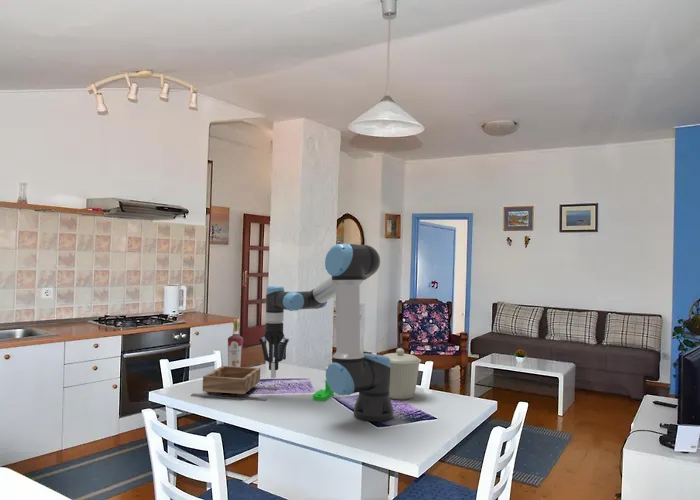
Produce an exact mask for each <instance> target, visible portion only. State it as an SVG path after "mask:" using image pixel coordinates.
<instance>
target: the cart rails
mask: <svg viewBox="0 0 700 500" xmlns="http://www.w3.org/2000/svg"><path fill="white" fill-rule="evenodd" d="M252 389H255V390H257V389H258V390H270V391H271V390H273V391H277V390H279V387H277V386H276V387H275V386H260V385H259V386H256V385H255V386H254V387H253V388H252ZM190 396H191V397H198V398H199V397H200V398H201V397H202V398H215V399H216V398H217V399H228V400H229V399H231V400H232V399H233V400H243V401H244V400H247V401H259V402H260V401H264V402H266V401H267V400H268V397H256V396H255V397H253V396H243V395H242V396H241V397H238V396H237V395H227V394H226V395H225V394H224V395H223V394H211V395H208V394H207V393H192V394H190Z"/></svg>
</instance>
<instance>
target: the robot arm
mask: <svg viewBox="0 0 700 500" xmlns="http://www.w3.org/2000/svg"><path fill="white" fill-rule="evenodd" d="M324 259H325V260H324V267H325V270H326V271H327V274H329V275H330V276H331V277H329V278H327V279H326V280H324V281H323V282H321V283H320V284H318V285H317V286H316V287H315V288H313V289H311V290H308V291H307V290H306V291H285V287H284V286H282V285H281V286H280V285H270V286H267V287H266V293H265V294H266V295H265V322H266V323H265V333H264V334H263V335H264V336H262V337H260V338H259V339H258V341H259V342H260V345H261V349H262V354H263V359H264V361H265V362H268V370H269V371H270V379H275V378H277V371H278V370H279V363H281V362H282V361H283V359H284V356H285V353H286V349H287V345H288V343H289V341H290V338H288V337H286V336H285V333H284V314H285V313H284V310H285V311H287V310H288V311H291V312H292V311H293V312H296V311H300V310H313V309H315V310H318V309H322V308H325V307H326V305H327V304H328V301H329V300H331V299H332V298H334V297H335V307H336V309H335V310H336V312H335V313H336V314H335V319H336V321H335V323H336V325H335V326H336V328H335V329H336V330H335V331H336V338H335V339H336V341H335V343H336V351H335V353H334V354H333V355H332V356H331V358H332V362H331V363H330V364H328V366H327V367H328V368H327V369H326V368H325V379H326V380H327V383H328V385H329V387H330V388H331V390H332V391H333V392H334V394H336V395H338V396H345V395H346V396H350V395H353V394H356V393H358V396H357V398H356V401H355V404H354V408H353V416H354V417H355V418H356V419H358V420H361V421H365V422H387V421H390V420H392V419H393V418H394V415H395V414H394V407H393V404H392V400H391V398H390V396H389V393H390V369H391V367H390V359H389V358H388V357H386V356H383V355H384V354H382V355H381V354H377V353H366V352H365V353H364V352H361V324H360V323H361V321H360V319H361V316H360V315H361V314H360V313H361V312H360V310H361V309H360V308H361V305H360V302H361V301H360V298H361V297H360V286H361V284H362V283H363V282H364V281H365V280H368V279H369V278H371V277H372V276H373V275H375V273H376V272H378V270H379V267H380V266H381V257H380V254H379V252H378V251H377V250H376V249H375V248H374V247H373V246H370V245H368V244H356V243H336V244H335V245H332V246H331V247H330V249H329V250H328V251H327V253H326V255H325V258H324ZM266 341H267V343H268V349H267V343H266ZM281 342H283V344H282V346H281V349H280V343H281Z"/></svg>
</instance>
